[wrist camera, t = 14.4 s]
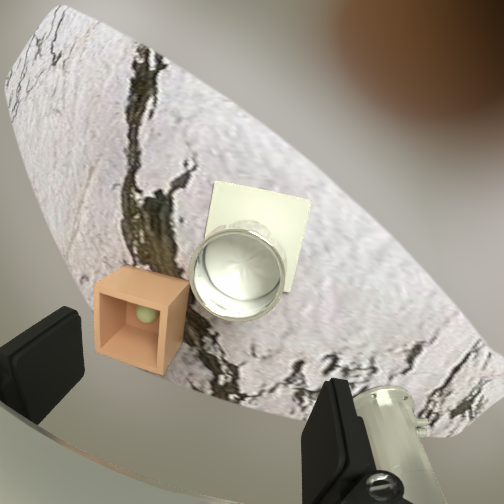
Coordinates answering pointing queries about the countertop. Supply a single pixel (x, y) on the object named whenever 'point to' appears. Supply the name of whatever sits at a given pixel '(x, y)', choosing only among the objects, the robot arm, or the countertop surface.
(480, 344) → the countertop surface
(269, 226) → the beer glass
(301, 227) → the plain cream tile
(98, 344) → the open box
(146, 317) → the sage ball
